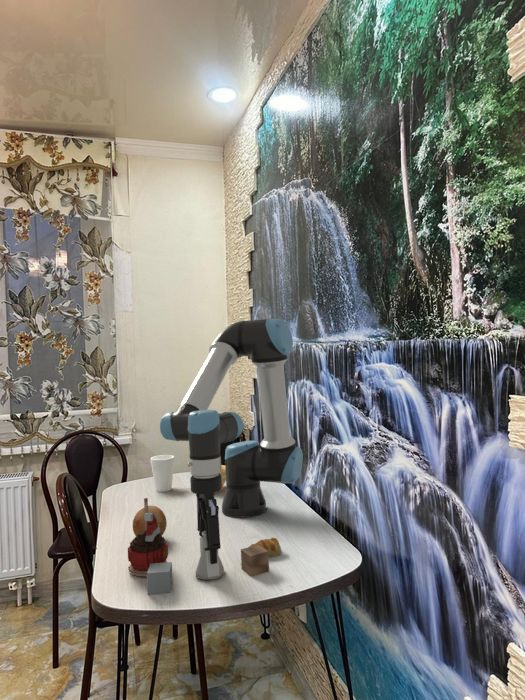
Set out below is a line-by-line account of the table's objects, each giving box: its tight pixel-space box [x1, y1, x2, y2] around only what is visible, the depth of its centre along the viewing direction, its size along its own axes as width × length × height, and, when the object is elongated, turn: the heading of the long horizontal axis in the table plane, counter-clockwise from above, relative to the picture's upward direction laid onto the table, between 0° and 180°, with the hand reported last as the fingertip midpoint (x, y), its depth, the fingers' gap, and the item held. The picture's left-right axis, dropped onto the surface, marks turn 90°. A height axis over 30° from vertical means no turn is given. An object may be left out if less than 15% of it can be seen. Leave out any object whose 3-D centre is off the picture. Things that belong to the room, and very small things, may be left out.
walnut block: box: [240, 545, 270, 578], centre depth 117 cm, size 5×5×5 cm
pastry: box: [248, 537, 282, 558], centre depth 127 cm, size 9×7×4 cm
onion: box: [132, 505, 168, 537], centre depth 140 cm, size 10×10×10 cm
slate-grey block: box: [146, 561, 174, 596], centre depth 110 cm, size 5×5×5 cm
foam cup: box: [150, 454, 175, 493], centre depth 194 cm, size 10×9×13 cm
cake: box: [127, 497, 169, 577], centre depth 120 cm, size 11×9×18 cm
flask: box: [195, 531, 225, 580], centre depth 116 cm, size 7×7×10 cm
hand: (209, 569), depth 116 cm, fingers closed on flask, 7 cm apart
